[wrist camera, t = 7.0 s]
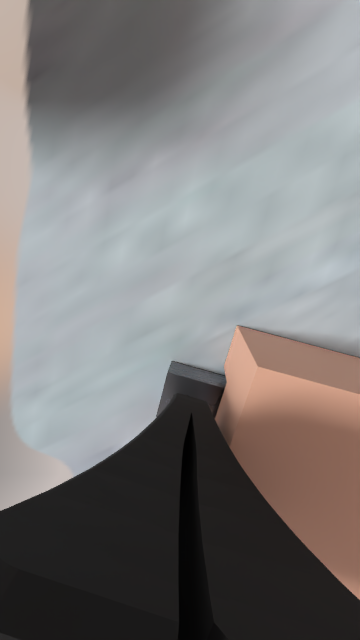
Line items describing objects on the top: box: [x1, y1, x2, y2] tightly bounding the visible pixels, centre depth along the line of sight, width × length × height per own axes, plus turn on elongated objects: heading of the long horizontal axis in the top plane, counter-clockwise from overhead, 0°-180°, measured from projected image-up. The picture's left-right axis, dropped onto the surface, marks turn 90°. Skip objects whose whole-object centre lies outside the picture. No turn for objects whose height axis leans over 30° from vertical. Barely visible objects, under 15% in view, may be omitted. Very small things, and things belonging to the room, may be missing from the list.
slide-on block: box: [215, 325, 360, 600], centre depth 9 cm, size 7×8×4 cm
